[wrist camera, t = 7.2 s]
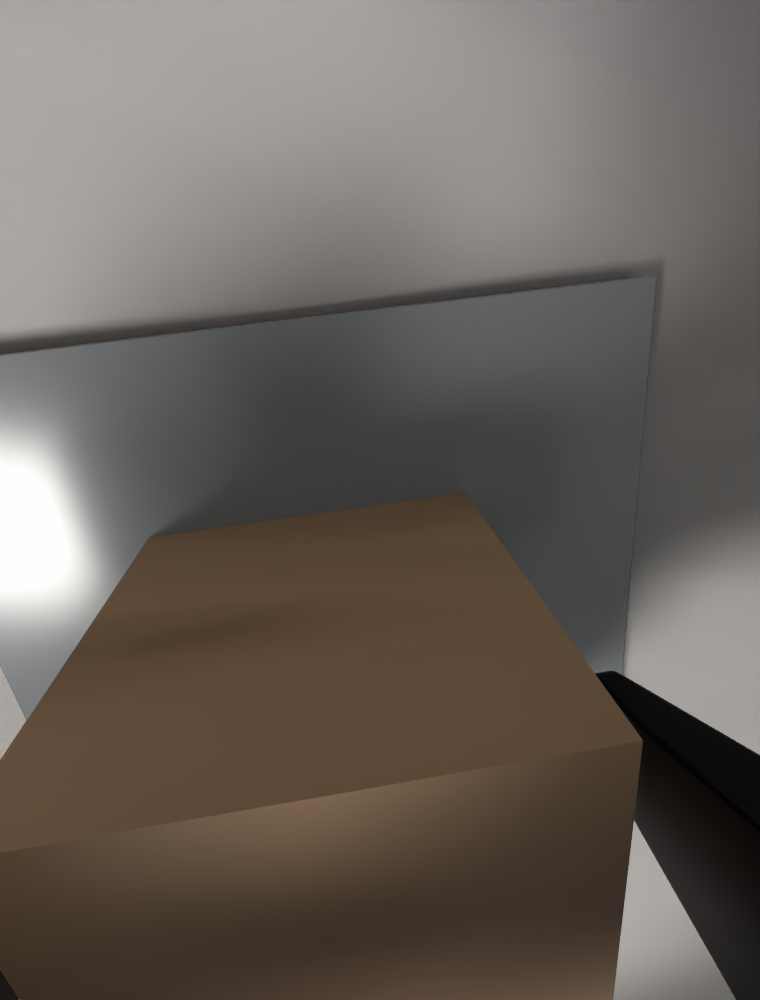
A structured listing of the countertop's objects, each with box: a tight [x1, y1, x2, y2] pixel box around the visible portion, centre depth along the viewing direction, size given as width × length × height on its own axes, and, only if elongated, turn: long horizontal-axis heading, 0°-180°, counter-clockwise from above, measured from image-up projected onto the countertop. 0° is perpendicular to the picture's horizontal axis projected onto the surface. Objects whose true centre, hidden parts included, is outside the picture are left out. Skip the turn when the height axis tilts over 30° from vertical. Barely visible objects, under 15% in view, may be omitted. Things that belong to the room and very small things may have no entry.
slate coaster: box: [0, 277, 656, 720], centre depth 11 cm, size 13×13×1 cm
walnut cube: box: [0, 493, 643, 1000], centre depth 8 cm, size 6×6×6 cm
